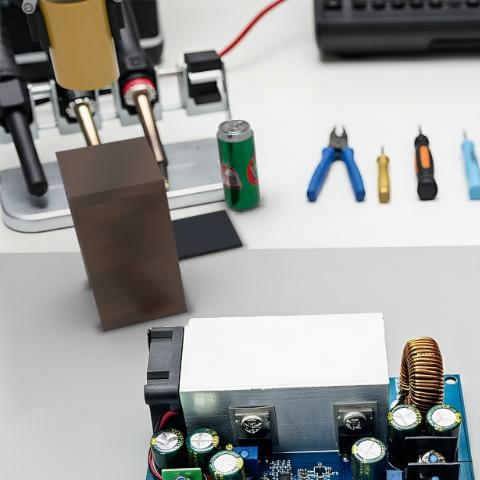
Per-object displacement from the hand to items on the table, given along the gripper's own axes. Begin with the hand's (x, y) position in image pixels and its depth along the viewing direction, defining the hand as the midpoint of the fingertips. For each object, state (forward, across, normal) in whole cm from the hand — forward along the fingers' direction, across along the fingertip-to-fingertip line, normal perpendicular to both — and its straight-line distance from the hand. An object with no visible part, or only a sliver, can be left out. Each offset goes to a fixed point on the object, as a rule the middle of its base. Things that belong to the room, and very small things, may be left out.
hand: (80, 39), depth 103 cm
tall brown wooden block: (+34, 0, 0) cm, 34 cm away
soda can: (+34, -19, -16) cm, 42 cm away
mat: (+34, -11, -10) cm, 37 cm away
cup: (+4, 0, 0) cm, 4 cm away
